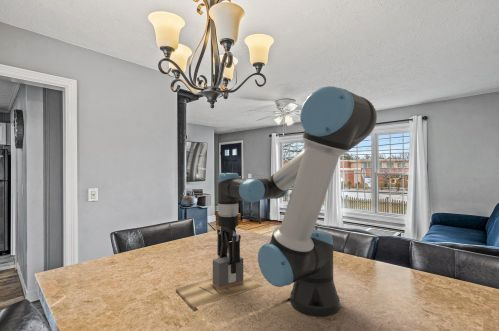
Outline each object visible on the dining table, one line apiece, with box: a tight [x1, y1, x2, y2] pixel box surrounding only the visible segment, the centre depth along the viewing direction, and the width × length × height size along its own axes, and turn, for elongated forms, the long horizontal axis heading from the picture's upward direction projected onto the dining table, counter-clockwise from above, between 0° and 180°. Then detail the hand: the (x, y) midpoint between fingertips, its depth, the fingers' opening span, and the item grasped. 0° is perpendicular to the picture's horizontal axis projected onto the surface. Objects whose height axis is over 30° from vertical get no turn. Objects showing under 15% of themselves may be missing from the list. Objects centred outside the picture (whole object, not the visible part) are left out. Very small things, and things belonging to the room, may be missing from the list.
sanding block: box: [212, 256, 244, 290], centre depth 95 cm, size 10×5×9 cm, turn 124°
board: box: [175, 274, 263, 311], centre depth 93 cm, size 16×26×1 cm, turn 125°
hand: (228, 278), depth 95 cm, fingers closed on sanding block, 5 cm apart
